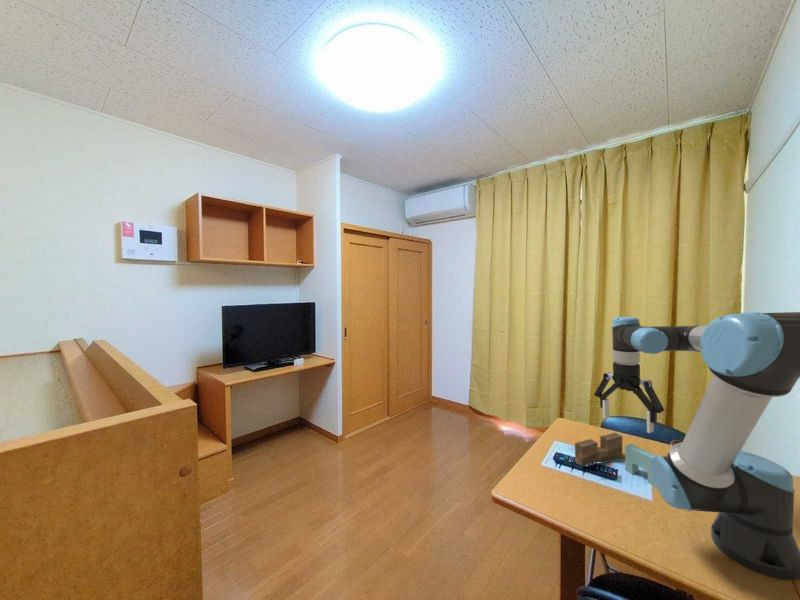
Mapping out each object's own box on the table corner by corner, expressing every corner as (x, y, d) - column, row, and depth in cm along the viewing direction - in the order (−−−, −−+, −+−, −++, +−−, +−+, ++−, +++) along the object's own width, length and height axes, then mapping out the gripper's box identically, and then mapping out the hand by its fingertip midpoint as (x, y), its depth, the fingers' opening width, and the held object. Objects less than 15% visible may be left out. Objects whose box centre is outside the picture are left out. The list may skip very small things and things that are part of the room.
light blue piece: (662, 484, 104) (662, 457, 103) (655, 487, 103) (655, 459, 102) (631, 468, 113) (631, 443, 113) (625, 470, 112) (625, 445, 112)
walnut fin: (622, 456, 121) (622, 436, 121) (582, 468, 114) (582, 446, 114) (614, 452, 124) (614, 432, 123) (575, 464, 117) (575, 442, 117)
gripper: (676, 368, 99) (677, 435, 100) (594, 355, 121) (595, 410, 121) (665, 372, 95) (666, 441, 96) (583, 357, 117) (584, 414, 118)
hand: (626, 424), depth 109 cm, fingers open, 13 cm apart
